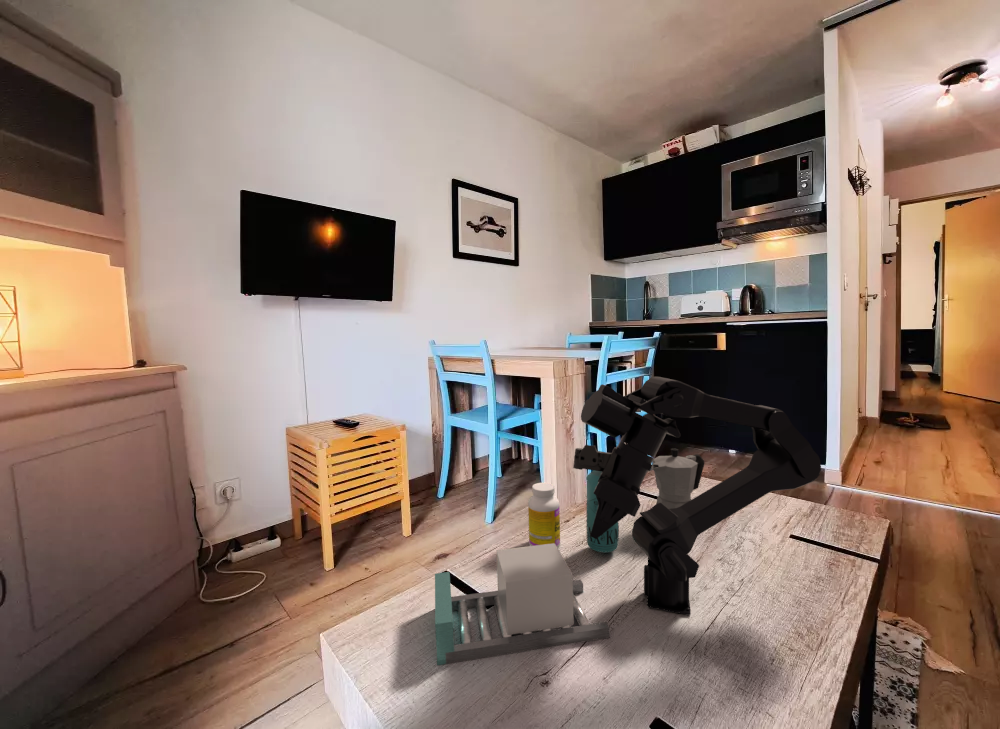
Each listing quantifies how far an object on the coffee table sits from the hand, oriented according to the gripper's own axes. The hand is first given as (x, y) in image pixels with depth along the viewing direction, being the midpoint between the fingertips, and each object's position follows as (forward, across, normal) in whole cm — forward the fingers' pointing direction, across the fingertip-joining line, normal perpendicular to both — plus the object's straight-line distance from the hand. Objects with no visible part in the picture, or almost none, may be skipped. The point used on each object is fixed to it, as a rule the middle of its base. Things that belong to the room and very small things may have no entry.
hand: (593, 537), depth 65 cm
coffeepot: (-4, -36, +17) cm, 40 cm away
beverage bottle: (+7, -21, +4) cm, 22 cm away
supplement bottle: (+12, -21, -7) cm, 25 cm away
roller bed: (+17, +2, -4) cm, 17 cm away
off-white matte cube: (+14, +1, -3) cm, 15 cm away
